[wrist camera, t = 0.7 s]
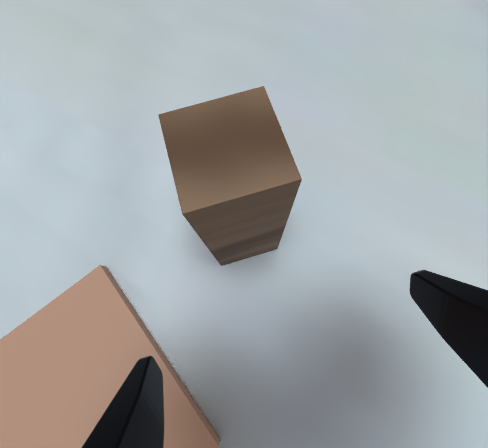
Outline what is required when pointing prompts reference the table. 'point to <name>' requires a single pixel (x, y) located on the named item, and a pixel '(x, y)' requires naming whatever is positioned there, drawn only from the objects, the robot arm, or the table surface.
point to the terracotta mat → (84, 371)
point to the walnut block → (232, 173)
